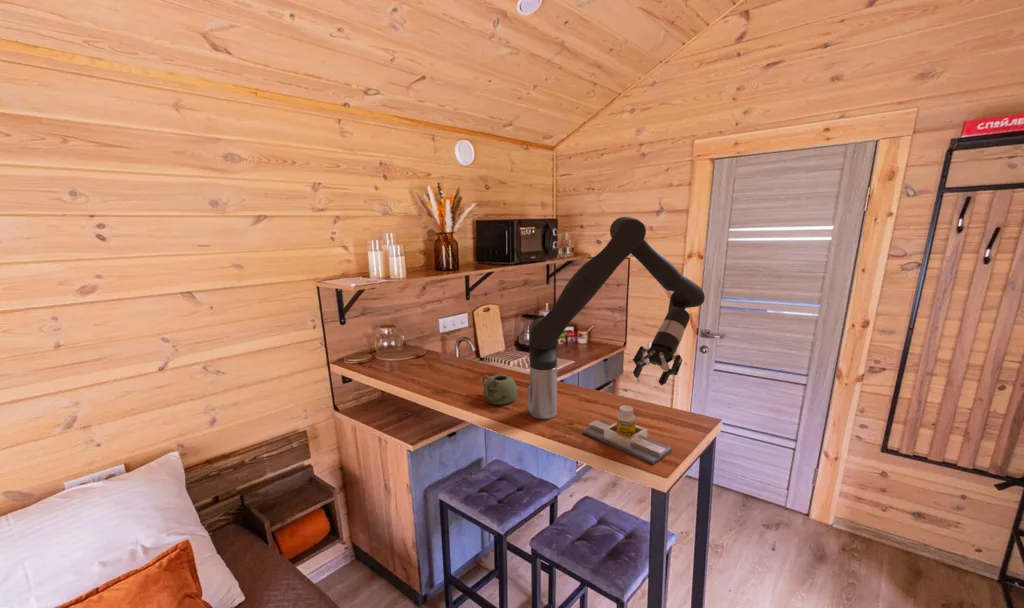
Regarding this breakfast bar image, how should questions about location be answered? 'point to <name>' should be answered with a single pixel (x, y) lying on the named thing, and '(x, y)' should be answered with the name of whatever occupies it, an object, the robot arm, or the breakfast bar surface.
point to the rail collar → (628, 441)
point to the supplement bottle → (626, 421)
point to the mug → (499, 389)
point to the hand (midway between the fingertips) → (647, 380)
